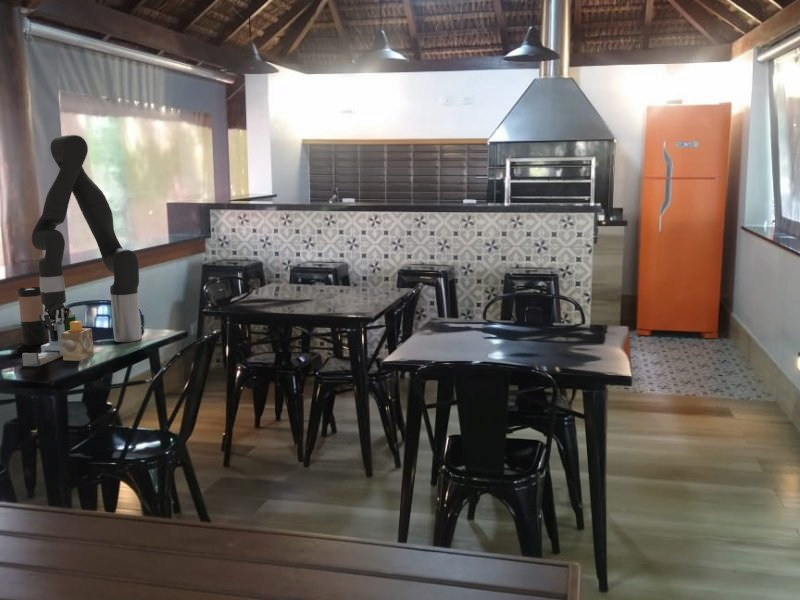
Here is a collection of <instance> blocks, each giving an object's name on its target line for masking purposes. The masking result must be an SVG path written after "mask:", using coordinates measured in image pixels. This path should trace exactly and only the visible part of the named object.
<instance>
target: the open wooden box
mask: <svg viewBox="0 0 800 600" xmlns="http://www.w3.org/2000/svg"><path fill="white" fill-rule="evenodd" d="M93 340H94V339H93V330H92V328H89V327H88V328H86V327H85V328H84V327H82V331H81V332H79V333H78V332H70V330H69V331H66V332H63V333H61V341H62V352H63V356H62V360H63V361H76V362H77V361H78V362H81V361H83V360H85V359H87V357H88V358H90V357H92V356H94V355H95V353H94V352H95V350H94V341H93ZM89 356H90V357H89Z"/></svg>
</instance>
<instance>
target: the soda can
mask: <svg viewBox="0 0 800 600" xmlns="http://www.w3.org/2000/svg"><path fill="white" fill-rule="evenodd" d="M76 319H77V318H76V313H75V312H74V311H73V310H71V309H70V311H69V316H68V322H67V325H64V327H65V332H66V331H69V330H70V322H72V321H77V320H76ZM64 320H65V318H64ZM51 321H53V320H51ZM58 323H59V322H58Z"/></svg>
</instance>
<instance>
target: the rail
mask: <svg viewBox="0 0 800 600" xmlns="http://www.w3.org/2000/svg"><path fill="white" fill-rule="evenodd" d="M21 356H22V357H21V358H22V366H23V367H37V368H38V367H39V366H42V365H45V364H47V363H50V362H52V361H55V360H56V359H59V358H61V357H62V358H63V355H60V351H50V350H47V351H44V352H42V351H41V352H40V353H35V352H31V353H30V352H29V353H28V352H23V353H22V354H21Z"/></svg>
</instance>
